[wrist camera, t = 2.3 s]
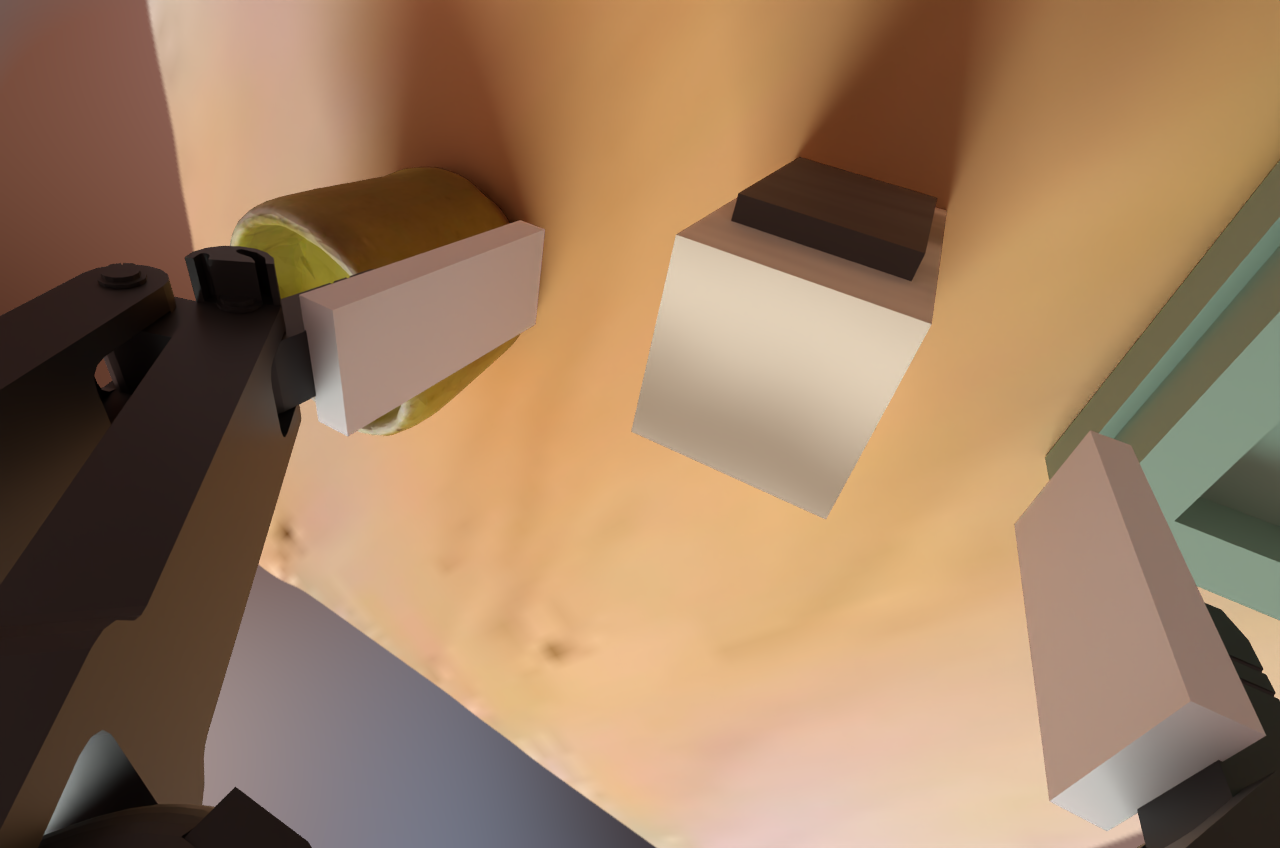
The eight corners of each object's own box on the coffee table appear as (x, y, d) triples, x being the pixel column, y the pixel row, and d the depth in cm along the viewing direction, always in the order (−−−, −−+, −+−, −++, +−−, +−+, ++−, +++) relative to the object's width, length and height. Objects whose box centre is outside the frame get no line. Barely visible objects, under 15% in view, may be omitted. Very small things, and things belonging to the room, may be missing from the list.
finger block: (798, 144, 19) (682, 203, 11) (956, 190, 18) (948, 292, 10) (747, 302, 22) (631, 431, 15) (877, 350, 21) (825, 519, 13)
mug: (441, 63, 21) (215, 224, 16) (601, 292, 26) (471, 466, 21) (316, 172, 29) (141, 301, 24) (457, 329, 35) (339, 460, 30)
